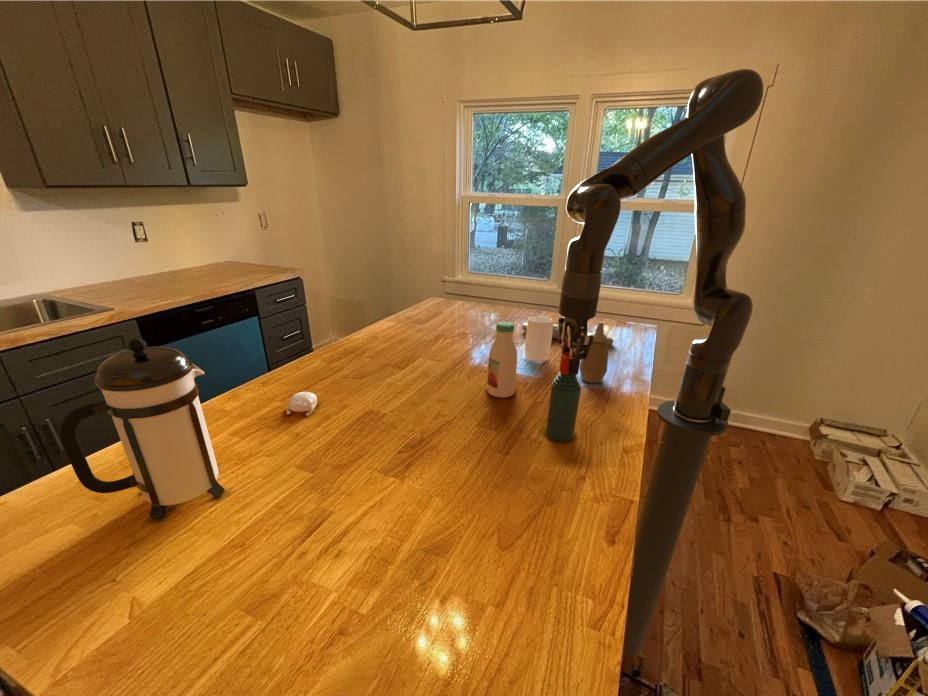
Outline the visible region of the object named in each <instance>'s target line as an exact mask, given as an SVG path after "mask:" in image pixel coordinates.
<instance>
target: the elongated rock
mask: <svg viewBox="0 0 928 696" xmlns="http://www.w3.org/2000/svg"><path fill="white" fill-rule="evenodd" d="M527 324H528V322H525V323H523V324H522V326H521V329H522V330H523V331H524V332H525V333H526V331H527ZM591 333H592V332H590V331H587V334H588V335H591ZM552 339H557V340H558V324H554V323H553V332H552ZM606 342H607V343H608V344H609V347H611V346H612V345H613V344H614V338H613V337H611V336H608V335H607V340H606Z"/></svg>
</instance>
